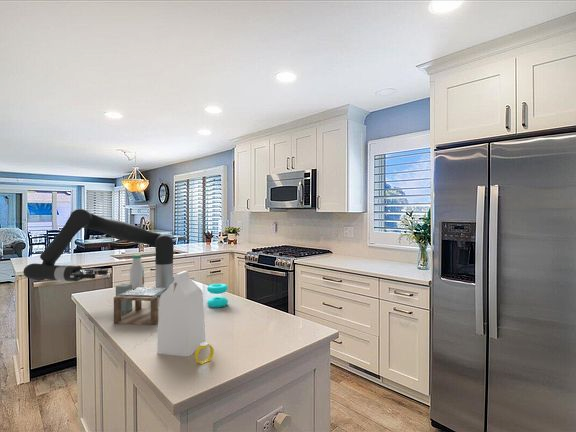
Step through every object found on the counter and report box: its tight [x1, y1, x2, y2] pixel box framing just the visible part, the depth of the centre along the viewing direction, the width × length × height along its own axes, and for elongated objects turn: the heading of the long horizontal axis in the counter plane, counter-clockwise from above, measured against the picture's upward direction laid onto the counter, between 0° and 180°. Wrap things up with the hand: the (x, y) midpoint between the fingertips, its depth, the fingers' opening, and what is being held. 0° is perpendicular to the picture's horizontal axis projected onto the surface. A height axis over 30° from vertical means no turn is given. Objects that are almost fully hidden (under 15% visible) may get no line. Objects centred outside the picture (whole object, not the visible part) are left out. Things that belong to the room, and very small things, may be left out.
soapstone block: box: [115, 283, 133, 313], centre depth 153 cm, size 5×5×12 cm
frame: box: [113, 287, 168, 326], centre depth 144 cm, size 18×18×11 cm
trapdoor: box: [117, 286, 167, 301], centre depth 144 cm, size 17×13×3 cm
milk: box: [156, 270, 207, 357], centre depth 112 cm, size 12×12×26 cm
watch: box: [194, 341, 214, 365], centre depth 101 cm, size 6×3×6 cm, turn 137°
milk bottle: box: [129, 254, 145, 290], centre depth 196 cm, size 8×8×20 cm
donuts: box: [206, 283, 229, 308], centre depth 162 cm, size 10×10×10 cm
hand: (101, 274), depth 153 cm, fingers open, 8 cm apart
